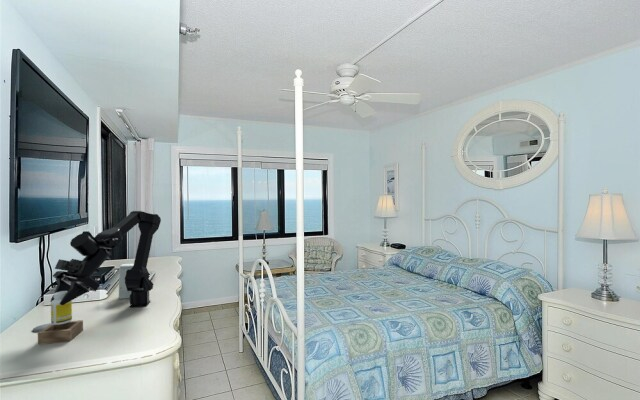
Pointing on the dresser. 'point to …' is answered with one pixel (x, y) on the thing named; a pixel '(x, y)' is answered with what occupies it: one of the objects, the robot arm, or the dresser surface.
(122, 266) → the skincare box
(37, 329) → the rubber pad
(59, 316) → the supplement bottle
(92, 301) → the dresser surface
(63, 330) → the wooden tray
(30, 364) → the dresser surface
